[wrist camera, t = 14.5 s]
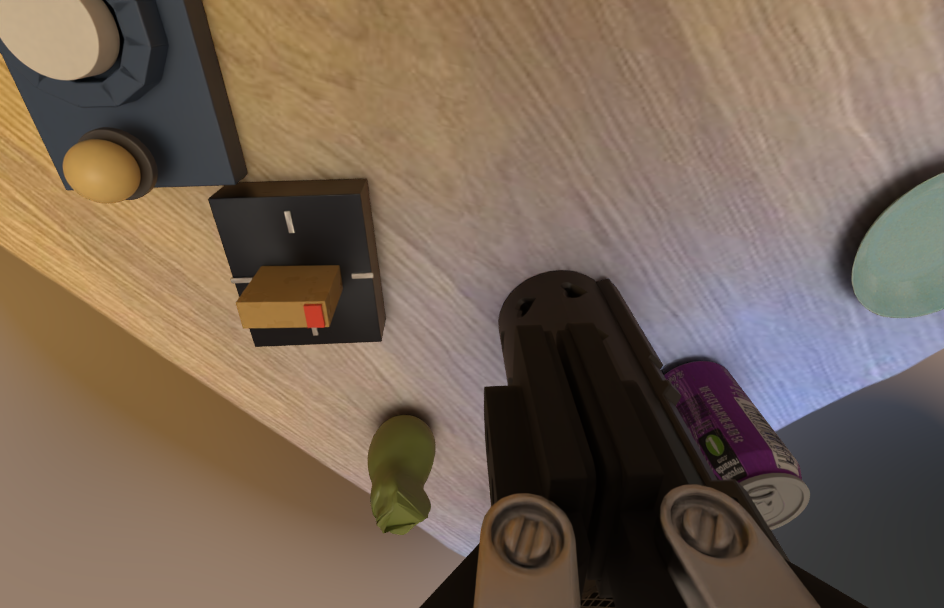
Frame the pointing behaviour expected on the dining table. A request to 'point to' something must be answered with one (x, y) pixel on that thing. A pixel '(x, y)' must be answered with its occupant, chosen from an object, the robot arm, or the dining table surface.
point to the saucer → (904, 255)
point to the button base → (146, 96)
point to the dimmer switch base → (306, 249)
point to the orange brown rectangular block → (291, 297)
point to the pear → (400, 473)
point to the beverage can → (739, 440)
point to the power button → (60, 36)
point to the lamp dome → (110, 166)
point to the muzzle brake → (630, 362)
